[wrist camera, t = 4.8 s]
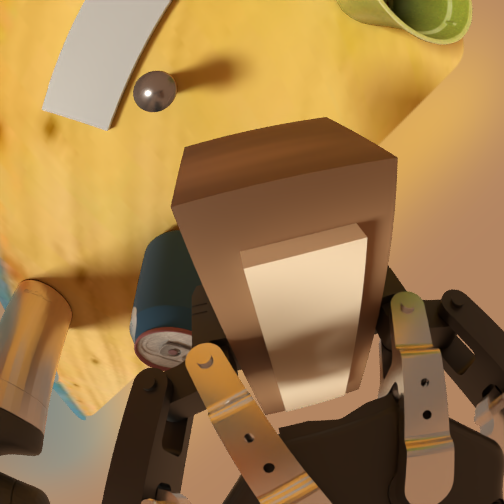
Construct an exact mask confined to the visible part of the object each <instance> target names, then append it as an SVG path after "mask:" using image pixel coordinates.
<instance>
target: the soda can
mask: <svg viewBox="0 0 504 504" xmlns="http://www.w3.org/2000/svg"><path fill="white" fill-rule="evenodd" d="M199 285H202V282H201V280H200V278H199V275H198V273H197V271H196V268H195V266H194V264H193V261H192V259H191V256H190V254H189V252H188V249H187V247H186V244H185V242H184V239H183V237H182V234H181V232H180V230H174V231H169V232H166V233H163V234H161V235H159V236H158V237H156V238H155V239H154V240H152V241H151V242H150V244H149V245H148V247H147V249H146V251H145V255H144V259H143V263H142V267H141V272H140V276H139V281H138V285H137V290H136V295H135V300H134V305H133V310H132V315H131V321H130V334H131V337H132V339H133V342H134V344H135V345H134V349H135V353H136V355H137V357H138V358H139V359H140V360H141V361H142V362H143V363H145V364H146V365H148V366H150V367H152V368H158V369H160V370H162V371H167V370H169V369H171V368H173V367H175V366H177V365H179V364H181V363H182V362H183V361H185V360H186V357H187V354H188V353H189V351H190V350H191V349H192V294H193V292H194V290H195V288H196V286H199Z"/></svg>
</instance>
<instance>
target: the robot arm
mask: <svg viewBox="0 0 504 504" xmlns="http://www.w3.org/2000/svg"><path fill="white" fill-rule="evenodd" d="M71 319H72V312H71V308H70V306H69V304H68V303H67V301H66V300H65V299H64V298H63V297H62V296H61V294H59V293H58V292H57V291H56V290H54V289H53V288H51V287H50V286H48V285H46V284H44V283H42V282H39V281H34V280H25V281H23V282H21V283H20V284H19V285H18V287H17V289H16V290H15V292H14V294H13V296H12V298H11V300H10V302H9V304H8V306H7V308H6V310H5V312H4V314H3V316H2V318H1V320H0V456H1V455H7V454H17V455H27V456H36V455H39V454H40V453H41V451H42V446H43V439H44V431H45V424H46V419H47V412H48V407H49V401H50V396H51V392H52V387H53V383H54V378H55V374H56V370H57V366H58V362H59V359H60V355H61V351H62V348H63V344H64V341H65V338H66V335H67V332H68V328H69V325H70V322H71ZM377 333H378V335H379V337H380V342H379V356H380V388H379V393H378V399H375V400H373V401H370V402H368V403H366V404H364V405H362V406H361V407H359V408H358V409H356V410H355V411H353V412H351V413H350V414H348V415H347V416H345V417H343V418H341V419H338V420H325V421H306V422H303V423H299V424H295V425H290V426H286V427H281V428H279V432H280V434H277V432H276V431H275V430H274V428H273V427H272V425H271V424H270V422H269V421H268V420H267V418H266V417H265V415H264V414H263V412H262V411H261V409H260V408H259V406H258V405H257V403H256V402H255V400H254V399H253V397H252V396H251V395H250V393H248V391H247V390H246V388H245V387H244V385H243V384H242V382H241V380H240V379H239V377H238V372H237V370H242V369H241V367H240V365H239V363H238V360H237V358H236V356H235V354H234V352H233V350H232V348H231V346H230V344H229V342H228V340H227V338H226V335H225V333H224V331H223V329H222V327H221V325H220V323H219V320H218V318H217V316H216V314H215V312H214V309H213V307H212V305H211V303H210V300H209V298H208V296H207V294H206V291H205V289H204V287H203V285H199V286H196V288H195V290H194V292H193V294H192V349H191V350H190V351H189V353H188V354H187V357H186V360H185V361H183V362H182V363H181V364H179V365H177V366H175V367H173V368H171V369H169V370H167V371H165V372H163V371H162V370H160V369H158V368H147V369H145V370H143V371H141V372H140V373H139V374H138V375H137V376H136V378H135V379H134V382H133V386H132V388H131V391H130V395H129V398H128V401H127V405H126V408H125V412H124V415H123V418H122V422H121V426H120V429H119V433H118V436H117V441H116V444H115V448H114V452H113V456H112V460H111V464H110V469H109V472H108V477H107V481H106V486H105V490H104V495H103V500H102V504H191V502H190V501H189V500H188V498H186V497H185V496H184V495H182V494H180V491H181V485H182V479H183V473H184V467H185V461H186V456H187V450H188V445H189V439H190V434H191V428H192V423H193V417H194V415H195V414H197V413H199V412H201V411H204V410H206V409H207V410H208V416H209V419H210V421H211V423H212V424H213V426H214V428H215V430H216V432H217V434H218V436H219V437H220V439H221V441H222V442H223V444H224V446H225V448H226V450H227V451H228V453H229V455H230V456H231V458H232V460H233V461H234V463H235V465H236V466H237V468H238V470H239V471H240V473H241V475H240V477H239V479H238V481H237V482H236V483H235V485H234V487H233V489H232V490H231V491H230V493H229V494H228V496H227V497H226V499H225V500H224V502H223V504H504V500H503V494H502V493H503V492H502V487H503V475H504V331H503V330H502V329H501V328H500V327H499V326H498V325H497V324H496V323H495V322H494V321H493V320H492V319H491V318H490V317H489V316H488V315H487V314H486V313H485V312H484V311H483V310H482V309H481V308H479V307H478V305H476V304H475V303H474V302H473V301H472V300H471V299H470V298H469V297H468V296H467V295H466V294H464V293H463V292H461V291H459V290H448V291H446V292H445V293H444V294H443V296H442V299H441V300H422V299H421V298H420V297H419V296H418V295H416V294H414V293H412V292H407V291H406V290H405V288H404V287H403V285H402V284H401V282H400V281H399V280H398V278H397V277H396V276H395V274H394V273H393V271H392V270H391V268H389V266H388V267H387V273H386V279H385V285H384V290H383V296H382V301H381V306H380V310H379V315H378V320H377V324H376V328H375V332H374V334H377ZM457 334H458V335H459V336H460V338H461V339H462V340H463V341H464V342H465V343H466V344H467V345H468V346H469V347H470V348H471V349H472V350H473V352H474V354H475V355H474V354H473V353H472V352H471V351H470V350H469V348H468V347H467V346H466V345H465V344H464V343H463V342H462V341H461V340H460V339H459V338H458V337H457ZM444 370H445V371H446V372H447V374H448V375H449V376H450V377H451V378H452V379H453V381H454V382H455V383H456V384H457V385H458V387H459V388H460V389H461V390H462V391H463V393H464V394H465V395H466V396H467V398H468V399H469V400H470V401H471V402H472V404H473V405H474V406H475V408H476V410H475V417H474V422H475V424H477V425H479V426H480V433H479V432H477V431H475V430H473V429H471V428H469V427H467V426H465V425H462V424H461V423H459V422H457V421H455V420H453V419H451V418H449V415H448V402H447V392H446V384H445V376H444ZM0 504H50V502H49V500H48V497H47V496H46V494H45V493H44V492H43V491H42V490H40V489H38V488H36V487H34V486H31V485H29V484H26V483H24V482H22V481H19V480H16V479H14V478H12V477H10V476H8V475H6V474H3V473H1V472H0Z"/></svg>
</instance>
